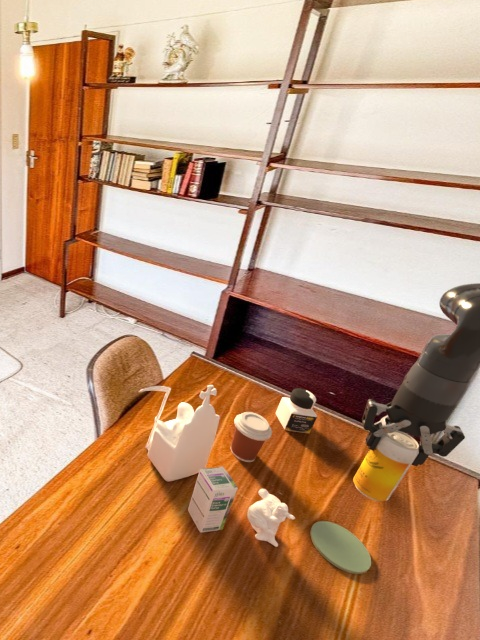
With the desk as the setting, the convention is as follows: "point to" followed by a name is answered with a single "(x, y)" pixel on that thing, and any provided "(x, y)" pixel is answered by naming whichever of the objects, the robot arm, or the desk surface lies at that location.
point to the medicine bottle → (297, 411)
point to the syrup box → (212, 499)
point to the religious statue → (183, 437)
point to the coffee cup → (249, 435)
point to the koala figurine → (267, 516)
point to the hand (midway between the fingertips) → (391, 454)
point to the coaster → (340, 547)
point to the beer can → (386, 465)
